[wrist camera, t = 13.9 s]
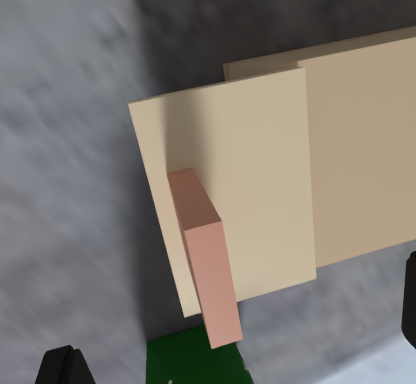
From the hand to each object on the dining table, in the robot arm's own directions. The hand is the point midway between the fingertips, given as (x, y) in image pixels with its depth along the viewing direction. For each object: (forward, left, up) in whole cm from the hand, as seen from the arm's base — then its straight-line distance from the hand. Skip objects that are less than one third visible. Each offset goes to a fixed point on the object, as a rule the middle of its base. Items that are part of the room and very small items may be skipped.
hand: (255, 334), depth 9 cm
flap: (-2, 0, -9) cm, 9 cm away
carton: (-12, 0, -17) cm, 21 cm away
